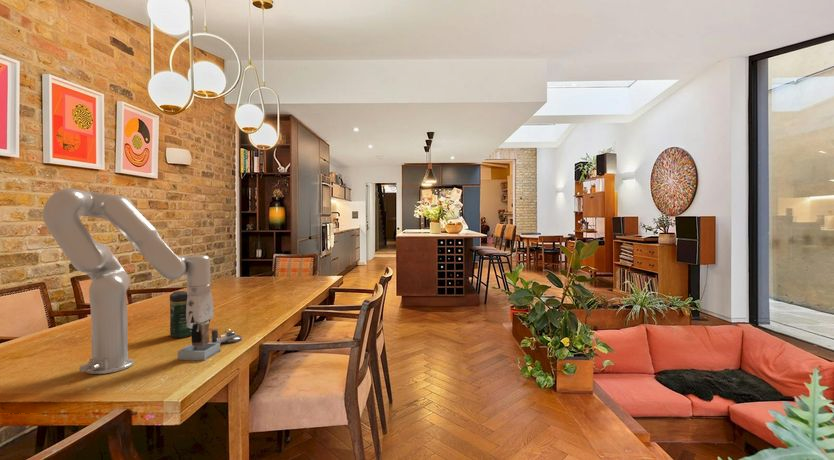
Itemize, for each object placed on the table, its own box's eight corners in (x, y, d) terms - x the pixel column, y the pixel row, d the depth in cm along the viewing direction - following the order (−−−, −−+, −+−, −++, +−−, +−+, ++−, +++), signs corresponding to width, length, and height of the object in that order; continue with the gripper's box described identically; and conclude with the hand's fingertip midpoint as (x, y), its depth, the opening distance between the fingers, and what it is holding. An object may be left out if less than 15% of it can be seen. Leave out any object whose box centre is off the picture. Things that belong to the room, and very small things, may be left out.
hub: (235, 343, 162) (235, 340, 162) (215, 343, 163) (215, 340, 163) (245, 337, 170) (245, 334, 170) (226, 337, 171) (226, 334, 171)
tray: (204, 360, 144) (204, 351, 144) (177, 359, 144) (177, 351, 144) (220, 351, 153) (220, 343, 153) (194, 350, 154) (194, 342, 154)
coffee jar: (195, 336, 173) (195, 291, 172) (174, 339, 167) (173, 294, 166) (188, 331, 180) (188, 288, 179) (168, 334, 174) (167, 291, 173)
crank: (229, 335, 169) (228, 321, 168) (237, 336, 168) (237, 322, 167) (208, 344, 157) (208, 329, 157) (217, 344, 156) (217, 329, 156)
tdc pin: (228, 336, 171) (228, 330, 171) (224, 336, 171) (224, 330, 171) (231, 335, 173) (231, 328, 173) (226, 335, 173) (226, 328, 173)
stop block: (202, 345, 147) (202, 323, 146) (191, 345, 147) (191, 323, 147) (209, 342, 151) (208, 320, 150) (198, 342, 151) (198, 320, 151)
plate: (235, 337, 171) (235, 336, 171) (222, 339, 169) (222, 338, 169) (233, 334, 176) (233, 333, 176) (220, 336, 173) (220, 335, 173)
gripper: (195, 294, 140) (196, 347, 140) (221, 285, 156) (222, 333, 157) (173, 294, 140) (175, 347, 141) (202, 285, 157) (203, 333, 157)
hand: (200, 339), depth 149 cm, fingers closed on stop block, 4 cm apart
